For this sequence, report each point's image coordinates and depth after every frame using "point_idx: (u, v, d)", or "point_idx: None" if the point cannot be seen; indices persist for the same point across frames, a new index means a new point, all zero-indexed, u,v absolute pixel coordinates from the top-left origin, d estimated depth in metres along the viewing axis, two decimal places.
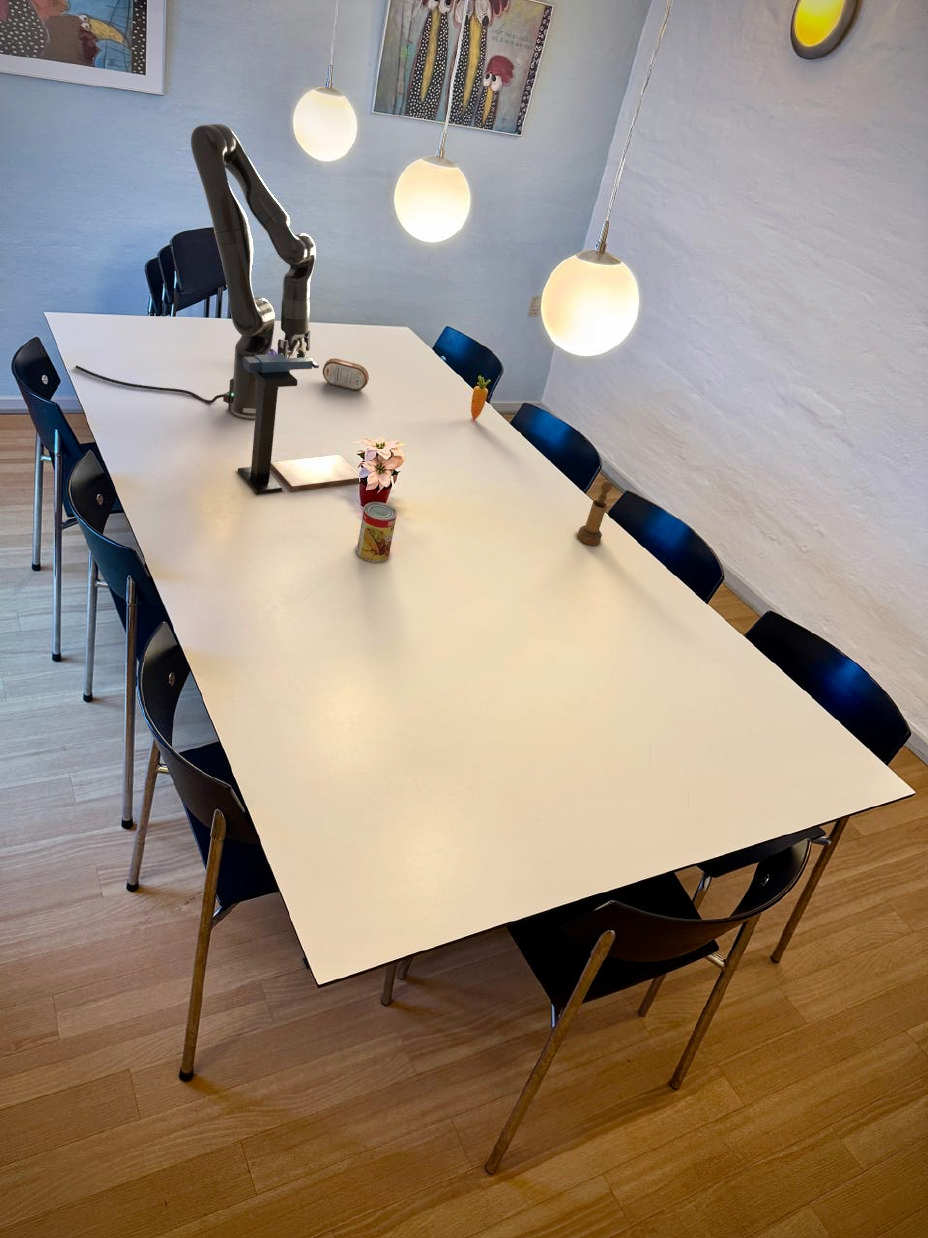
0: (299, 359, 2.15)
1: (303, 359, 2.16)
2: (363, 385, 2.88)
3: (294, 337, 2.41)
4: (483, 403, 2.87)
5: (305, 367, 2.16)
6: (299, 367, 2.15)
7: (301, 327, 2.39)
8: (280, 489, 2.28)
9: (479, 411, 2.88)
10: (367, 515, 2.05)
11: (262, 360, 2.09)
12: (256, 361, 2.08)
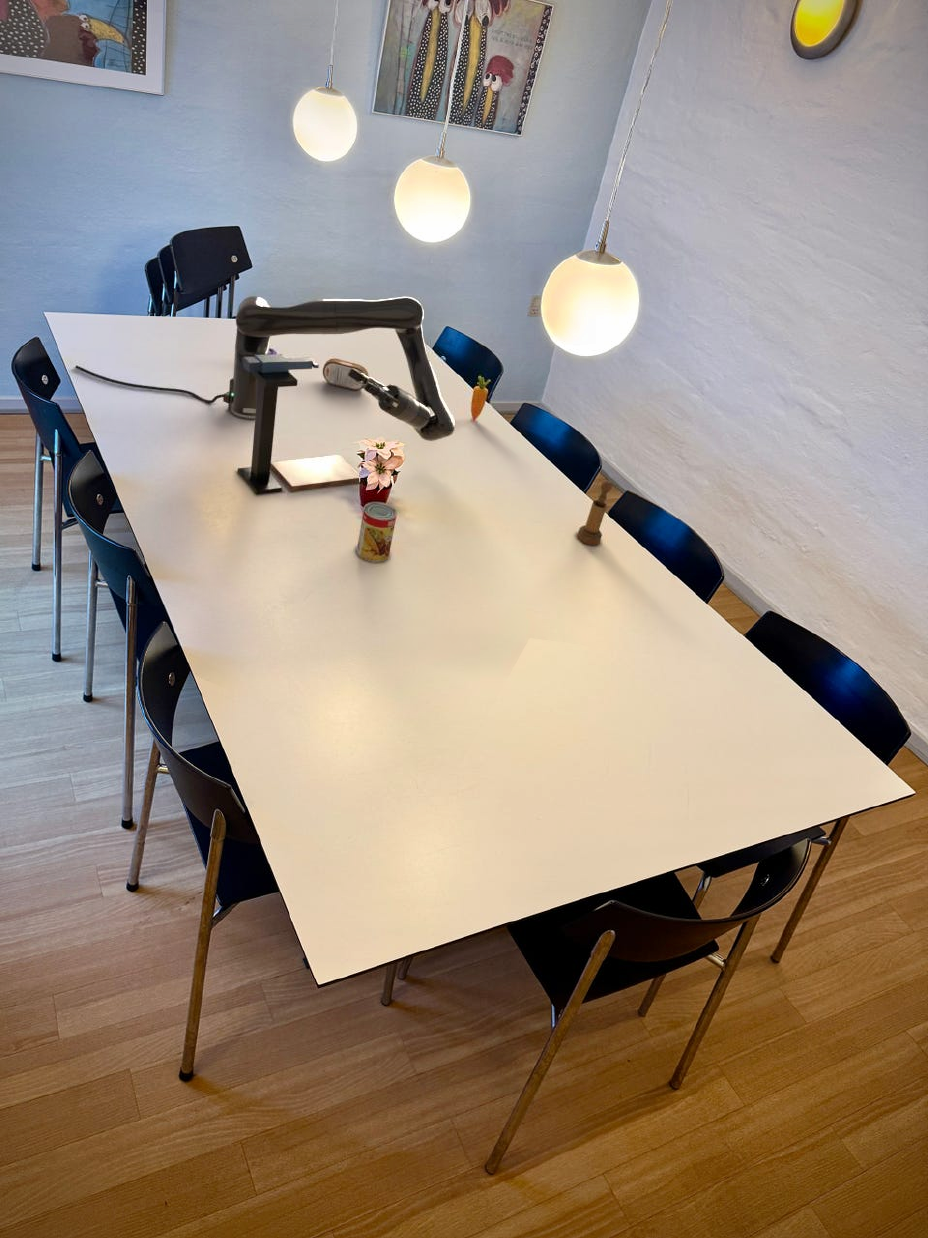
0: (299, 359, 2.15)
1: (303, 359, 2.16)
2: None
3: None
4: (483, 403, 2.87)
5: (305, 367, 2.16)
6: (299, 367, 2.15)
7: (390, 413, 2.38)
8: (280, 489, 2.28)
9: (479, 411, 2.88)
10: (367, 515, 2.05)
11: (262, 360, 2.09)
12: (256, 361, 2.08)
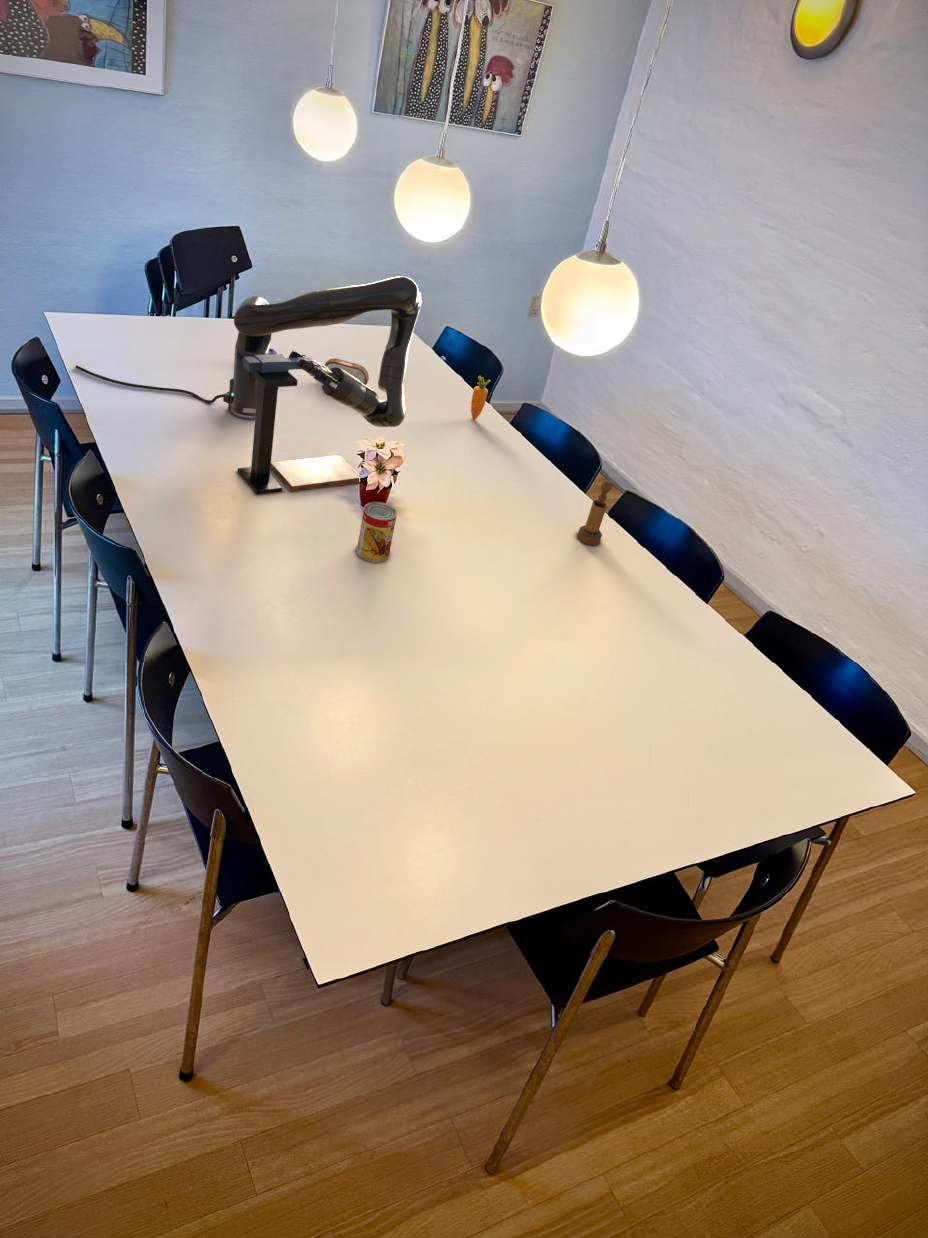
0: (299, 359, 2.15)
1: None
2: None
3: None
4: (483, 403, 2.87)
5: None
6: None
7: (334, 397, 2.25)
8: (280, 489, 2.28)
9: (479, 411, 2.88)
10: (367, 515, 2.05)
11: (262, 360, 2.09)
12: (256, 361, 2.08)
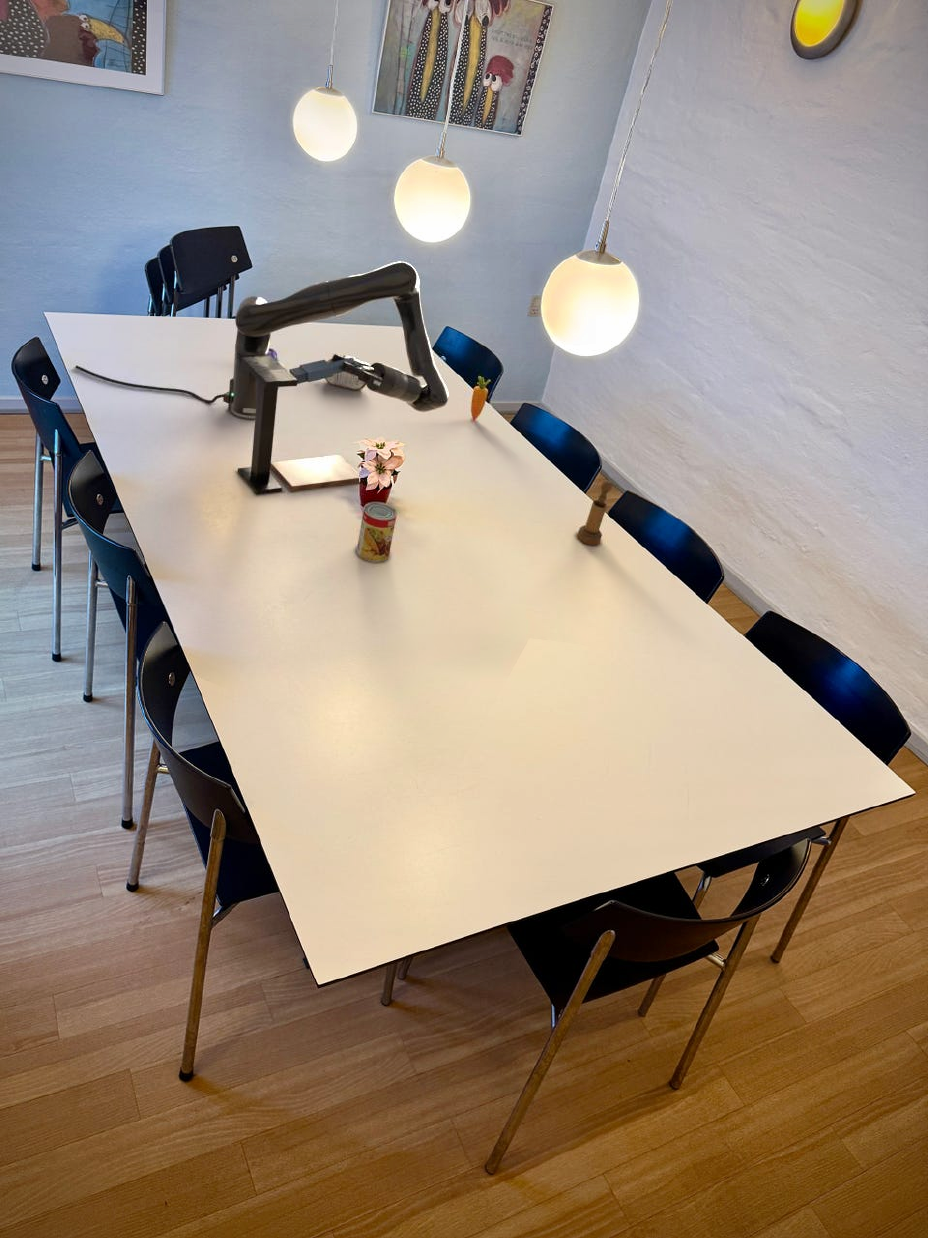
0: (341, 362, 2.22)
1: (345, 361, 2.22)
2: (363, 385, 2.88)
3: None
4: (483, 403, 2.87)
5: None
6: None
7: (379, 392, 2.32)
8: (280, 489, 2.28)
9: (479, 411, 2.88)
10: (367, 515, 2.05)
11: (307, 370, 2.16)
12: (301, 372, 2.16)
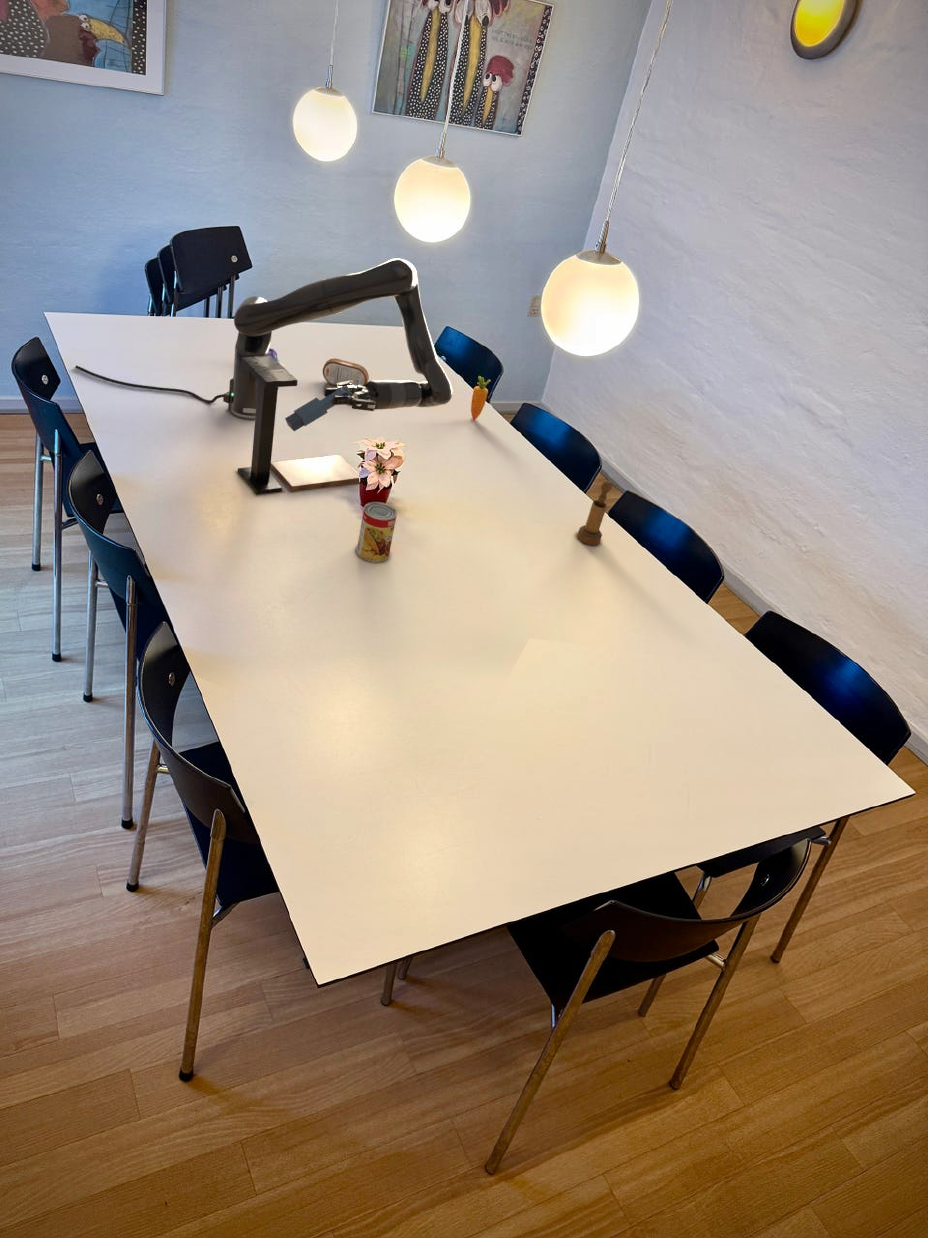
0: (333, 395, 2.27)
1: (336, 393, 2.27)
2: (363, 385, 2.88)
3: None
4: (483, 403, 2.87)
5: None
6: None
7: None
8: (280, 489, 2.28)
9: (479, 411, 2.88)
10: (367, 515, 2.05)
11: (301, 415, 2.24)
12: (296, 419, 2.23)
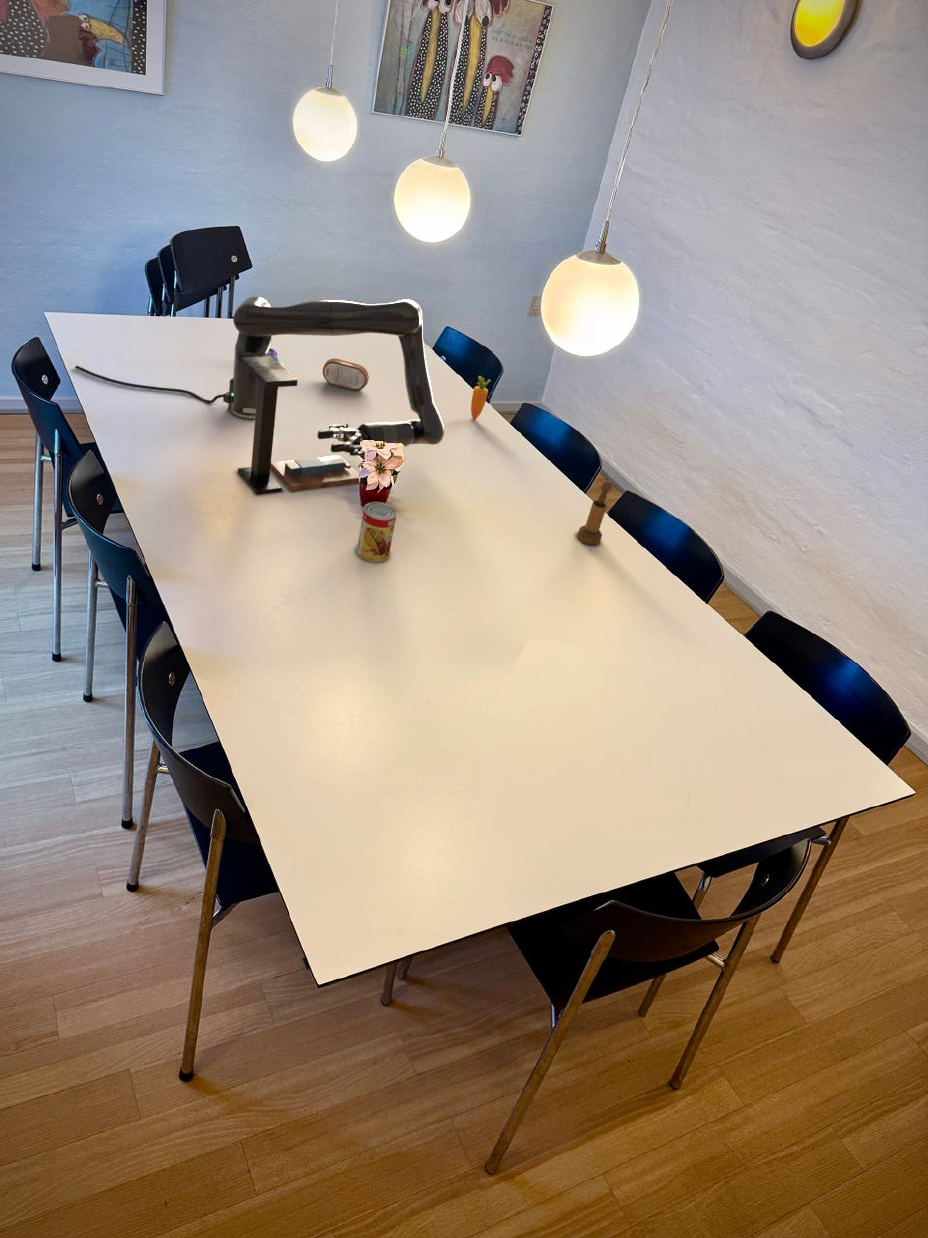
0: (333, 461, 2.40)
1: (337, 461, 2.41)
2: (363, 385, 2.88)
3: None
4: (483, 403, 2.87)
5: (338, 468, 2.41)
6: (333, 468, 2.40)
7: None
8: (280, 489, 2.28)
9: (479, 411, 2.88)
10: (367, 515, 2.05)
11: (301, 465, 2.33)
12: (296, 466, 2.32)
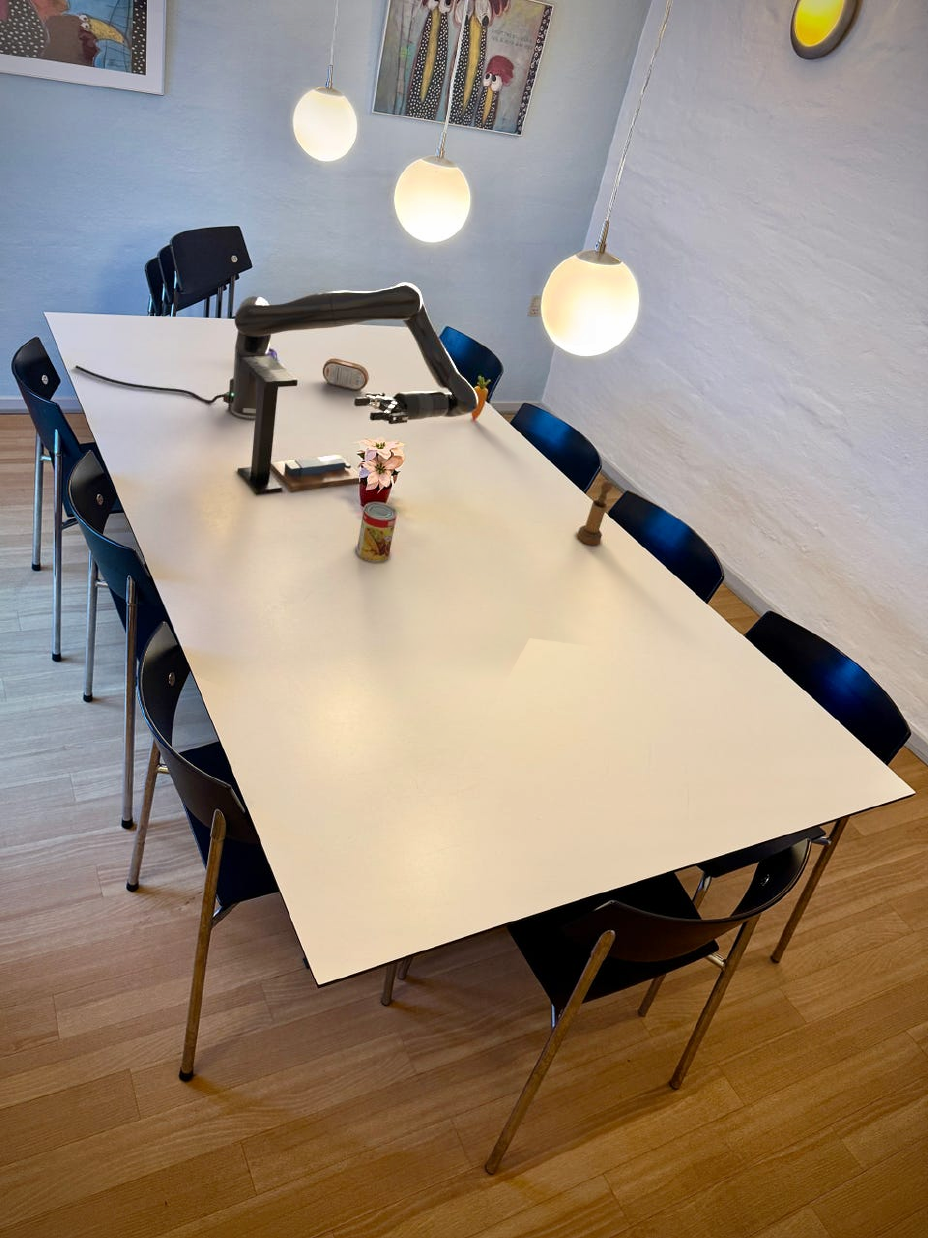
0: (333, 461, 2.40)
1: (337, 461, 2.41)
2: (363, 385, 2.88)
3: None
4: (483, 403, 2.87)
5: (338, 468, 2.41)
6: (333, 468, 2.40)
7: None
8: (280, 489, 2.28)
9: (479, 411, 2.88)
10: (367, 515, 2.05)
11: (301, 465, 2.33)
12: (296, 466, 2.32)
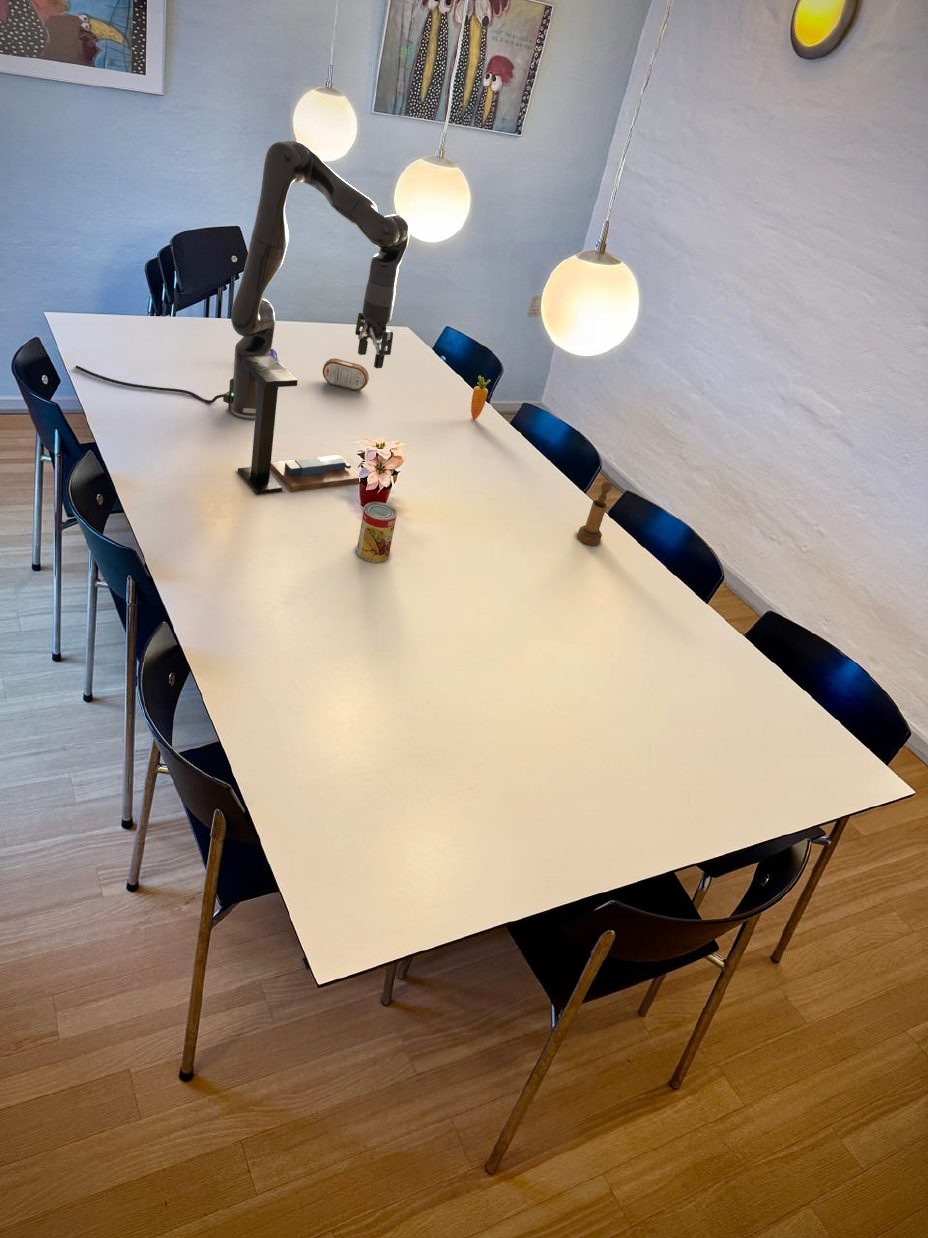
0: (333, 461, 2.40)
1: (337, 461, 2.41)
2: (363, 385, 2.88)
3: None
4: (483, 403, 2.87)
5: (338, 468, 2.41)
6: (333, 468, 2.40)
7: None
8: (280, 489, 2.28)
9: (479, 411, 2.88)
10: (367, 515, 2.05)
11: (301, 465, 2.33)
12: (296, 466, 2.32)
